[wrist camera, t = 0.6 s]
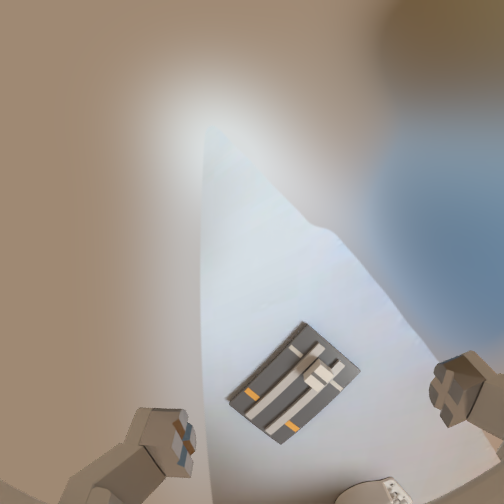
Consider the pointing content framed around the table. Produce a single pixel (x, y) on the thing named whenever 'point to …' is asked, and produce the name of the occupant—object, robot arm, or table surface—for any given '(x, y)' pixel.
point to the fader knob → (318, 375)
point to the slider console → (293, 386)
